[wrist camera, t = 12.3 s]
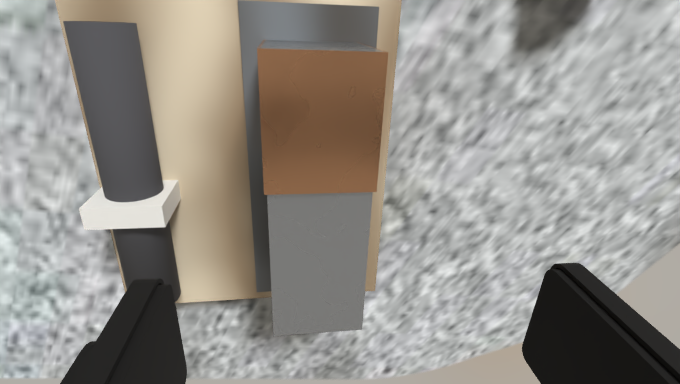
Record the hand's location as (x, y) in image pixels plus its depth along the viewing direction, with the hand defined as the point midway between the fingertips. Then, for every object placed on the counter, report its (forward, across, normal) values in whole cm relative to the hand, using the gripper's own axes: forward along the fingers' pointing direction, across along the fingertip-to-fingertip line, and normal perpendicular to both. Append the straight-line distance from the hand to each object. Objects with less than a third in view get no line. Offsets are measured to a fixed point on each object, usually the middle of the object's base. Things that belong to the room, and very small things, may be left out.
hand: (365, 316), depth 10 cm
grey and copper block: (+11, +1, 0) cm, 11 cm away
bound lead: (+12, +9, 0) cm, 15 cm away
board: (+12, +4, 0) cm, 13 cm away
